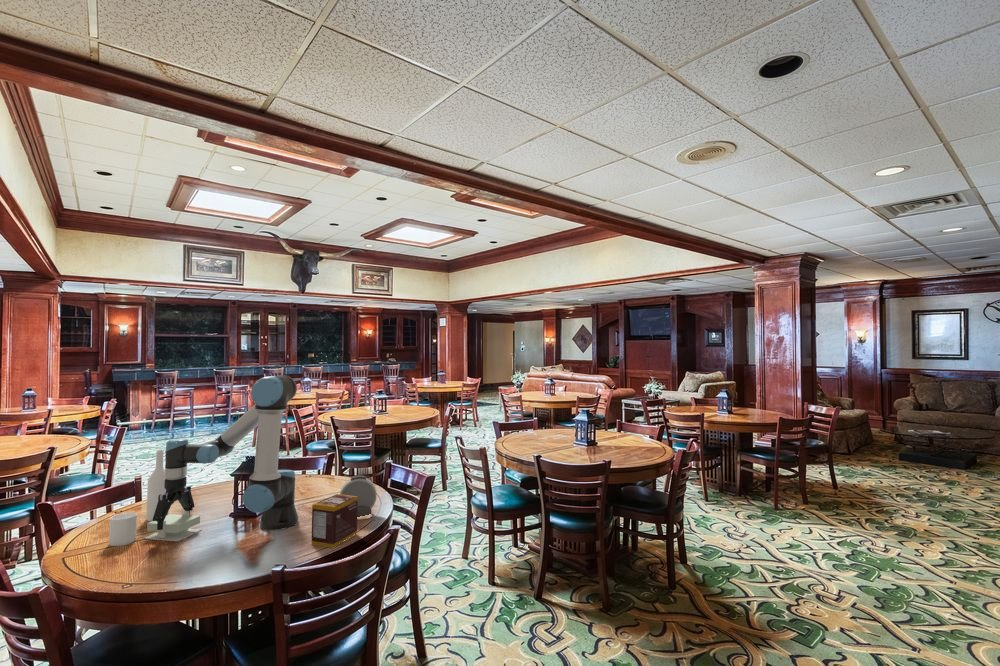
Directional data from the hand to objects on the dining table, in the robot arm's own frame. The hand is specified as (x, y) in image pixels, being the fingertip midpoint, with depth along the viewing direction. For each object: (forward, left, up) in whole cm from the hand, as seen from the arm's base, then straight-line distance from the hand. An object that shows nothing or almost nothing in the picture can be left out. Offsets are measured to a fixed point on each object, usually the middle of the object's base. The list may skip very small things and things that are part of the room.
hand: (173, 532), depth 194 cm
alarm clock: (-64, -33, -1) cm, 72 cm away
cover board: (0, 0, +2) cm, 2 cm away
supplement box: (-67, -6, -1) cm, 67 cm away
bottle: (+23, -16, -1) cm, 28 cm away
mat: (0, 0, -1) cm, 1 cm away
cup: (+14, +9, -1) cm, 17 cm away
